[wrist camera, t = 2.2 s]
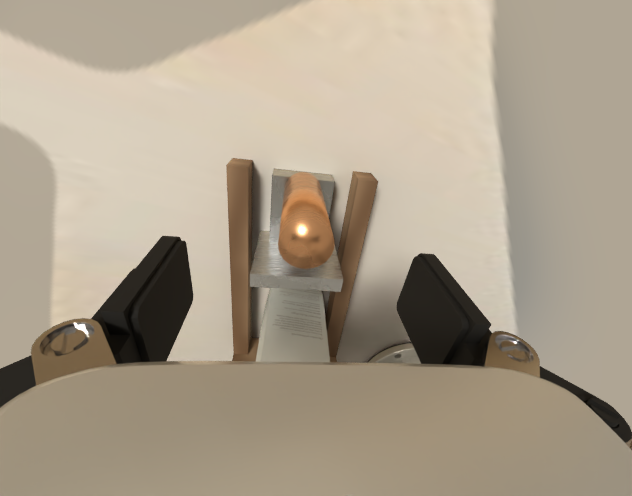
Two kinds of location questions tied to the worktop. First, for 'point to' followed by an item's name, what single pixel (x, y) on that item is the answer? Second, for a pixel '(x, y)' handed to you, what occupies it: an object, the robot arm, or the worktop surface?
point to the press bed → (242, 255)
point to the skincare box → (293, 327)
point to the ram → (298, 236)
